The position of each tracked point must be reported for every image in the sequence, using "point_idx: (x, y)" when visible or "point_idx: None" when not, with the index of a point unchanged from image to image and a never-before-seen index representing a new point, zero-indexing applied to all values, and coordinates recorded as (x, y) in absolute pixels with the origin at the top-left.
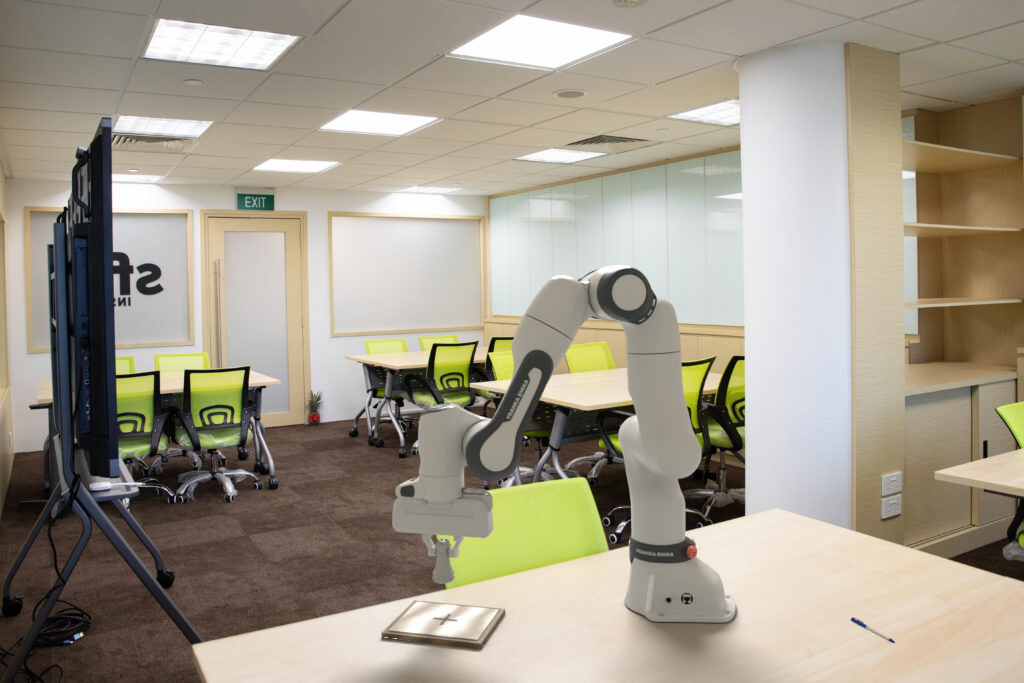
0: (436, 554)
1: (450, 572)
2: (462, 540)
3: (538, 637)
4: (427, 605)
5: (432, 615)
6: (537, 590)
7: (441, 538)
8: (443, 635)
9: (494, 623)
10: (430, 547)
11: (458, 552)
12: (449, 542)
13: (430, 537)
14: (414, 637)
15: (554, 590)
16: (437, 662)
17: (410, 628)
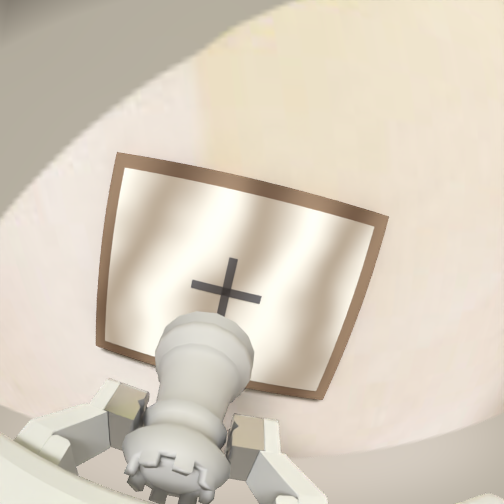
0: (146, 404)
1: (238, 394)
2: (314, 487)
3: (435, 338)
4: (158, 194)
5: (185, 264)
6: (446, 76)
7: (146, 464)
8: None
9: (359, 308)
10: (107, 446)
11: (278, 428)
12: (216, 470)
13: (64, 431)
14: None
15: (477, 87)
16: None
17: (148, 337)
